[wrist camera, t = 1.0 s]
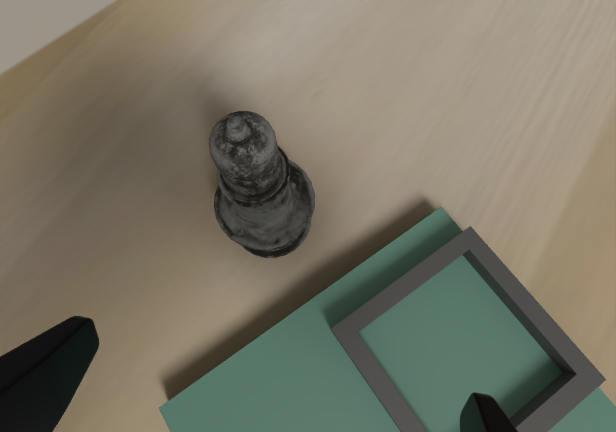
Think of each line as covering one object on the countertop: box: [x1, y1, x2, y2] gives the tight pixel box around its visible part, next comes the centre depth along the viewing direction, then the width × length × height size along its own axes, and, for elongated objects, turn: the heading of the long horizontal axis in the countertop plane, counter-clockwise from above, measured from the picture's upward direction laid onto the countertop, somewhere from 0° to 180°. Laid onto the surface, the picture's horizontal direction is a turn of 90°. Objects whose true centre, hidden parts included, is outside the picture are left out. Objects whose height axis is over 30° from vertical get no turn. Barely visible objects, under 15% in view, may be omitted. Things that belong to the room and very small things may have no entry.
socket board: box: [159, 207, 616, 432], centre depth 20 cm, size 20×16×3 cm
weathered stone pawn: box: [209, 111, 315, 258], centre depth 20 cm, size 6×6×12 cm
